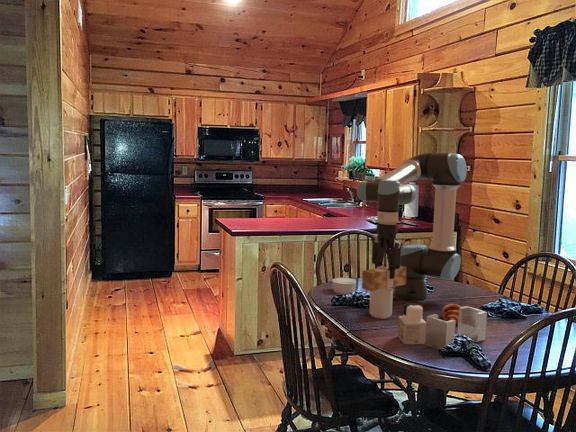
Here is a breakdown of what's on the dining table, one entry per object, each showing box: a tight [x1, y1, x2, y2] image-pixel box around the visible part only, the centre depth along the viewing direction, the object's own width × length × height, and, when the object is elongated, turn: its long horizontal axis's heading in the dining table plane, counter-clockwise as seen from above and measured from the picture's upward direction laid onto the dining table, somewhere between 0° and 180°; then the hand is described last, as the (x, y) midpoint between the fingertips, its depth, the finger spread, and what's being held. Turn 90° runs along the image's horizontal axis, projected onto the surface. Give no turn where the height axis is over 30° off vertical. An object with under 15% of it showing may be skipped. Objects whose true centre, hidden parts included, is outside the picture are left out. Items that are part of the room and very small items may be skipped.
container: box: [397, 302, 426, 345], centre depth 188 cm, size 8×8×13 cm
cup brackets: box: [424, 305, 488, 351], centre depth 187 cm, size 22×8×10 cm, turn 126°
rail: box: [361, 266, 407, 292], centre depth 198 cm, size 18×4×6 cm, turn 125°
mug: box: [369, 287, 394, 320], centre depth 216 cm, size 12×9×11 cm
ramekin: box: [331, 277, 357, 295], centre depth 249 cm, size 11×11×5 cm
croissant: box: [441, 303, 462, 326], centre depth 213 cm, size 21×10×8 cm, turn 159°
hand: (384, 285), depth 199 cm, fingers closed on rail, 4 cm apart
